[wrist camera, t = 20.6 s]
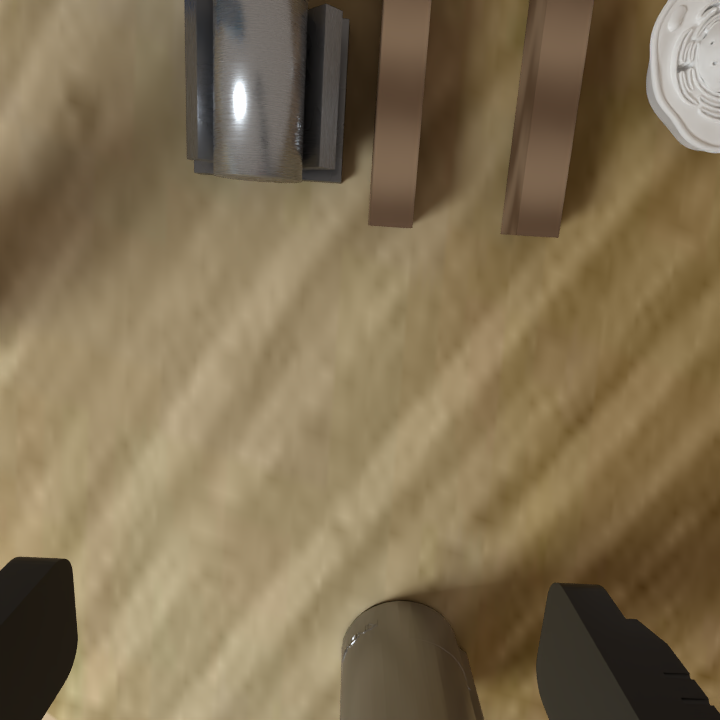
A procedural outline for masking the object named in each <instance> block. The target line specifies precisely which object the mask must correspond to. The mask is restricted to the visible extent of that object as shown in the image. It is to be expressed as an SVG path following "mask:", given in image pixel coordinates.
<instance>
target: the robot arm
mask: <svg viewBox="0 0 720 720" xmlns="http://www.w3.org/2000/svg"><path fill="white" fill-rule="evenodd" d="M77 642H78V634H77V621H76V608H75V595H74V583H73V571H72V566H71V564H70V562H69V561H68V560H67V559H58V558H37V557H16V558H14V559H12V560H11V561H10V562H9V563H8V564H7V565H6V566H5V567H4V568H3V569H2V570H1V571H0V720H42V718H43V716H44V715H45V713H46V712H47V710H48V709H49V707H50V705H51V704H52V702H53V701H54V699H55V697H56V696H57V694H58V693H59V691H60V689H61V688H62V686H63V685H64V683H65V681H66V679H67V678H68V675H69V673H70V671H71V668H72V666H73V663H74V659H75V655H76V650H77ZM536 671H537V682H538V688H539V693H540V696H541V700H542V703H543V705H544V708H545V710H546V713H547V715H548V718H549V720H720V713H719V712H718V711H717V709H716V708H715V707H714V706H710V704H709V699H708V697H707V696H706V695H705V693H704V692H703V691H702V689H701V688H700V687H699V685H698V684H697V683H696V682H695V680H691V679H690V676H689V672H688V671H687V670H686V668H685V667H684V666H683V664H682V663H681V662H680V660H679V659H678V658H677V656H676V655H675V654H674V652H673V651H672V650H671V648H670V647H669V646H668V644H667V643H665V642H664V641H663V640H662V639H660V638H659V637H658V636H657V635H655V634H654V633H653V632H652V631H650V630H649V629H648V628H647V627H645V626H644V625H643V624H642V623H640V622H639V621H638V620H637V619H625V617H624V616H623V614H622V613H621V612H620V610H619V609H618V607H617V606H616V604H615V603H614V601H613V600H612V599H611V597H610V596H609V594H608V593H607V591H606V590H605V589H604V588H603V587H602V586H600V585H592V584H570V583H553V584H552V585H551V587H550V589H549V592H548V596H547V602H546V608H545V613H544V619H543V625H542V631H541V637H540V642H539V648H538V654H537V663H536ZM340 720H484V717H483V713H482V710H481V706H480V702H479V698H478V695H477V691H476V687H475V683H474V680H473V676H472V672H471V668H470V665H469V661H468V657H467V654H466V652H464V651H463V650H461V649H460V648H459V647H458V645H457V642H456V638H455V634H454V631H453V630H452V628H451V626H450V624H449V623H448V622H447V621H446V619H445V618H444V617H443V616H442V615H441V614H439V613H438V612H436V611H435V610H433V609H432V608H429V607H427V606H425V605H423V604H419V603H415V602H410V601H394V602H387V603H383V604H380V605H377V606H374V607H372V608H370V609H369V610H367V611H365V612H363V613H362V614H361V615H360V616H359V617H358V618H356V619H355V620H354V621H353V623H352V624H351V625H350V627H349V628H348V630H347V632H346V634H345V637H344V639H343V645H342V662H341V696H340Z"/></svg>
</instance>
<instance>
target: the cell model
mask: <svg viewBox="0 0 720 720" xmlns="http://www.w3.org/2000/svg"><path fill="white" fill-rule="evenodd" d="M646 91H647V96H648V100H649V103H650V105H651V107H652V109H653V110H654V112H655V113H656V115H657V116H658V117H659V119H660V120H661V121H662V122H663V123H664V124H665V126H666V127H667V128H668V129H669V130H670V132H671V133H672V134H673V136H674V137H675V138H676V139H677V140H678V141H679V142H680V143H681V144H682V145H684V146H685V147H687V148H689V149H693V150H697V151H706V152H710V153H720V0H668V1H667V3H666V4H665V6H664V7H663V9H662V11H661V13H660V14H659V16H658V18H657V20H656V22H655V25H654V27H653V30H652V34H651V40H650V60H649V65H648V71H647V78H646Z"/></svg>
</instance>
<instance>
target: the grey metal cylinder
mask: <svg viewBox="0 0 720 720" xmlns="http://www.w3.org/2000/svg"><path fill="white" fill-rule="evenodd" d="M307 16H308V0H213V156H214V175H215V176H218V177H223V178H230V179H238V180H248V181H259V182H275V183H300V182H302V160H303V131H304V103H305V74H306V45H307Z"/></svg>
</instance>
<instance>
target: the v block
mask: <svg viewBox="0 0 720 720" xmlns="http://www.w3.org/2000/svg"><path fill="white" fill-rule="evenodd" d="M342 16H343V11H341V10H339V9H337V8H335V7H332V6H330V5H328V4H324V5H321V6H318V7H315V8H312V9H309V10H308V16H307V45H306V74H305V103H304V131H303V160H302V181H311V182H326V183H341V177H342V157H343V138H344V119H345V100H346V80H347V61H348V42H349V19H343V18H342ZM185 64H186V130H187V159H189V160H194V172H195V173H198V174H207V175H214V156H213V0H185Z"/></svg>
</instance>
